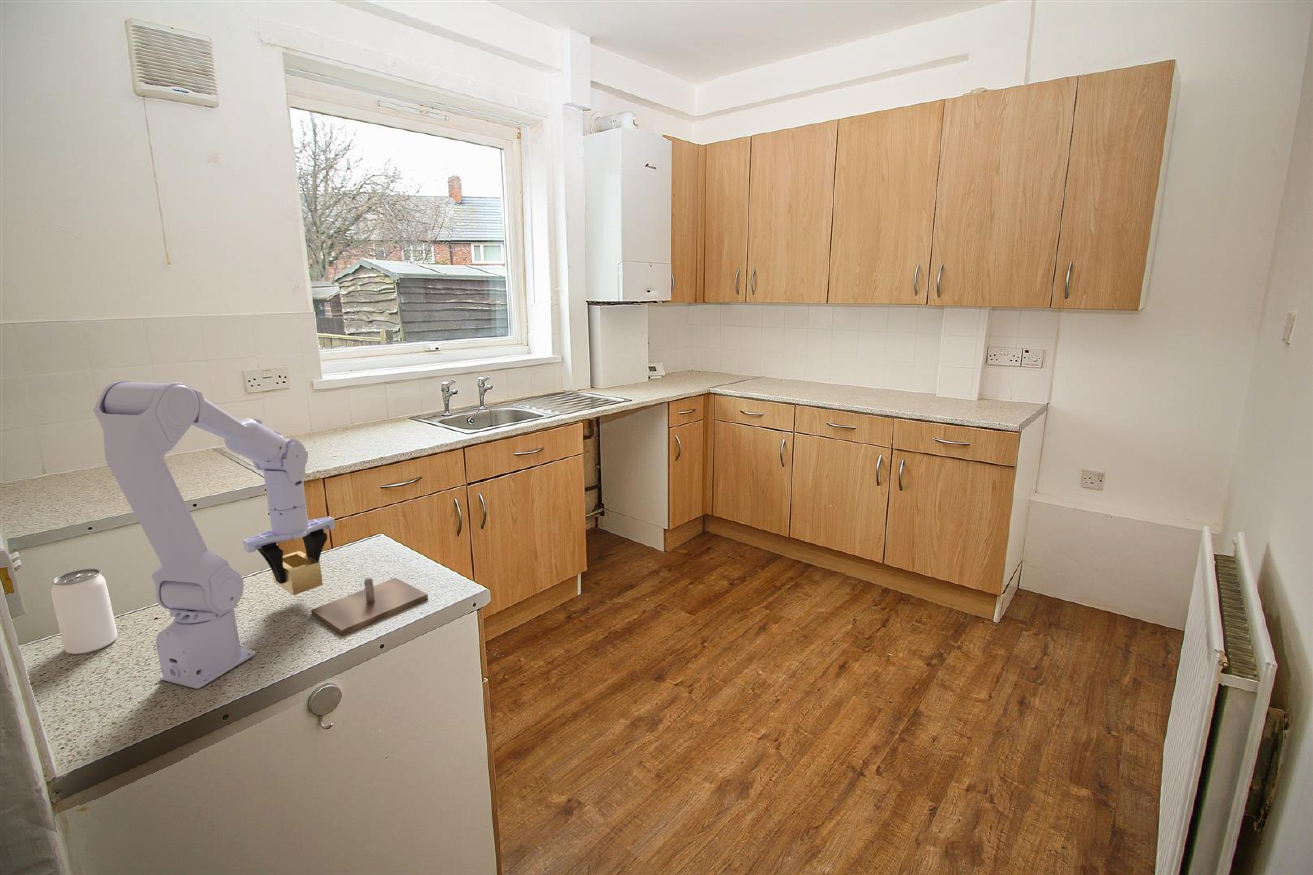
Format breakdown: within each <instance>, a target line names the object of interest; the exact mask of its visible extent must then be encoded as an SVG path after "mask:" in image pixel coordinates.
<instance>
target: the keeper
mask: <svg viewBox="0 0 1313 875" xmlns="http://www.w3.org/2000/svg"><path fill="white" fill-rule="evenodd" d="M363 582H364V589H362V590H360V591H357V592H354V593H351V594H348V595H347V596H343V597H341V598H338V599H335V600H334V601H330V602H328V603H325V604H322V605H321V606H317V607H314V608H312V609H311V610H310V611H311V612H310V613H311V616H312V617H314V618H316V619H317V620H318V621H320V622H321V623H323V624H324V625H326V626H327V627H329V628H331V629H332V630H333V631H335V632H336V633H338V634H339V635H341V636H345V635H347V634H350V633H352V632H354V631H357V630H359V629H361V628H364V627H366V626H368V625H370V624H373V623H375V622H378V621H380V620H382V619H385V618H387V617H390V616H392V615H394V614H396V613H398V612H401V611H403V610H406V609H408V608H410V607H413V606H416V605H418V604H421V603H422V602H424V600H425V601H427V600H429V596H428V595H429V594H428V593H426V592H424V591H423V590H421V589H419V588H416V587H414V586H413V585H410V584H408V583H407V582H405V581H402V580H401V579H399V578H397V577H394V578H391V579H389V580H386V581H383V582H380V583H378V584H375V585H374V581H373V578H372V577H367V578H365V579H364V581H363ZM426 599H427V600H426Z"/></svg>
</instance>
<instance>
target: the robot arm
mask: <svg viewBox="0 0 1313 875" xmlns="http://www.w3.org/2000/svg"><path fill="white" fill-rule="evenodd" d="M92 410H93V413H94V415H95V417H96V419H97V421H98V422H99V424H100V426H101V428H102V431H103V442H104V443H103V444H104V445H103V446H104V456H105V461H106V463H107V466H108V468H109V469H110V471H111V474H113V476H114V478H115V480H116V482H117V484H118V486H119V488H120V490H121V491H122V493H123V495H124V497H125V499H126V500H127V502H128V504H129V505H130V508H131V509H132V512H133V514H134V515H135V518H136V520H137V521H138V522H139V525H140V526H141V528H142V530H143V533H144V534H145V536H146V538H147V539H148V541H149V544H150V545H151V547H152V549H153V551H154V553H155V554H156V556H157V558H158V559H159V562H160V564H159V565H158V566H156V568H155V570H154V571H153V572H152V574H151V578H152V580H153V581H154V586H155V598H156V602H157V603H158V605H159V606H160V607H162V608H163V609H165V610H168V612H169V615H170V617H172V618H174V619H173V621H172V622H171V623H170V624H169V625H168V626H167V627H166V628H164V629H162V630H161V631H160V632H159V633H158V634H157V636H156V640H155V644H156V650H157V655H158V661H159V665H160V670H161V674H160V675H159V677H158V678H159V680H162V681H165V682H166V681H167V682H169V683H173V684H177V685H180V686H186V687H189V688H193V689H196V690H197V689H201V688H202V687H204V686H206V685H207V684H209V683H211V682H213V681H214V680H216V679H217V678H219V677H220V676H222V675H224V674H225V673H227V672H229V671H230V670H232V669H234V668H235V667H237V666H239V665H240V664H242V663H244V662H245V661H247V660H249V659H251V658H252V657H254V656H255V655H256V651H255V650H251V649H246V648H243V647H241V642H240V638H239V631H238V625H237V619H236V612H235V608H237V607H238V604H239V602H240V601H241V599H242V597H243V594H244V580H243V577H242V576H241V574H240V573H239V572H237V571H236V570H234V569H233V568H232V567H231V566H230V564H229V562H228V560H226V558H223V557H222V556H221V555H218V554H217V553H215V552H213V551H212V550H210V549H208V547H207V545H206V543H205V541H204V539H203V536H202V534H201V533H200V530H199V529H198V528H199V527H198V526H197V524H196V523H195V520H194V518H193V516H192V514H191V512H190V510H189V508H188V505H187V504H186V501H185V499H184V497H183V495H182V494H181V492H180V489H179V487H178V485H177V483H176V481H175V479H174V477H173V475H172V474H171V471H170V468H169V467H168V465H167V463H166V461H165V456H166V453H168V452H169V451H171V450H173V449H174V448H175V446H176V445H177V444H178V443H179V441H180V440H181V439H182V437H183V436H185V434H186V433H187V431H188V430H189V429H190V428H191V427H192V426H194V427H195V428H199V429H201V430H203V431H205V432H208V433H210V434H213V435H215V436H217V437H220V438H222V439H223V440H224V444H225V447H226V448H227V449H228V450H229V451H231V452H233V453H235V454H237V455H239V456H242V457H244V458H245V459H248V460H250V461H251V462H252V464H253V467H254V468H255V469H257V471H262V472H263V479H264V486H265V493H266V499H267V506H268V512H269V520H270V528H271V529H269V530H267V531H264V532H261V533H259V534H256V535H253V536H250V537H248V538H244V539H243V540H242V544H243V550H244V551H245V552H247V553H249V554H250V553H254V552H256V550H257V551H258V552H259V554H261V556H262V557H263V559H264V560H265V561H266V563H267V564H268V566H269V567H270V570H271V572H272V571H273V572H272V575H273V574H274V576H275V579H276V581H277V582H278V583H280V584H283V583H285V575H284V570H283V556H284V550H282V549H281V548H280V547H279V545H277V544H280V543H285V542H287V541H288V542H289V541H290V540H295V539H300V538H302V541H303V544H304V549H305V554H306V555H308V556H310V557H312V558H314V559H315V560H317V561H319V562H320V558H321V554H322V551H323V548H324V546H325V544H326V542H327V540H328V534H327V533H326V532H325V531H326V530H330V531H331V530H333V529H336V522H335V521H336V520H335V518H334V517H331V516H325V517H321V518H314V519H309V517H308V509H307V501H306V492H305V486H304V485H305V484H304V479H305V476H306V475H307V474H306V465H307V463H308V460H309V451H308V450H307V449H306V447H305V445H304V444H303V443H301V442H300V441H299V440H298V439H295V438H285V437H284V436H282V433H281V432H279V431H278V430H272V429H270V428H268V427H266V426H265V425H263V420H260V419H259V418H256V417H254V418H253V417H249V418H242V419H237V418H236V417H234V416H233V415H231V414H230V413H228V412H227V411H225V410H224V409H222V408H220V407H219V406H217V405H216V404H215V403H213V402H211V401H209V400H208V399H207V398H205V397H204V395H203V393H202V391H200V390H198V389H194V388H192V387H191V386H189V385H188V384H186V383H182V382H169V383H165V382H161V383H160V382H136V381H135V382H134V381H133V382H131V381H128V380H127V381H126V380H118V381H114V382H112V383H110V384H108V385H107V386H106V387H105V388H104V389H103V390H102V392H101V393H100V395H99V398H98V400H97V402H96V404H95V406H94V407H93V409H92Z"/></svg>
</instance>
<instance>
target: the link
mask: <svg viewBox="0 0 1313 875" xmlns="http://www.w3.org/2000/svg"><path fill="white" fill-rule="evenodd" d="M283 570H284V575H285V583H283V584H280V583H278V582H277V581H276V579H275V576H274V574H273V571H272V570H271V572H272V578H273V583H274V584H276V585H277V586H279V587H280V588H281V589H283V590H285V591H286V592H288V593H289V594H291V595H292V596H295V595H298V594H301V593H302V594H303V593H304V592H306V591H310V590H312V589H317V588H318V587H321V586H323V585H324V584H323V575H322V569H321V562H320V560H319V561H317V560H315V559H314V558H312V557H310V556H308V555H307V554H306V552H303V551H300V550H298V551H294V552H290V553H288V554H283Z"/></svg>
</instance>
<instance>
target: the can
mask: <svg viewBox="0 0 1313 875" xmlns="http://www.w3.org/2000/svg"><path fill="white" fill-rule="evenodd" d="M52 584H53V585H52V587H51V590H50V594H51V599H52V603H53V604H52V605H53V607H54V613H55V616H56V620H57V625H58V629H59V632H60V637H61V641H62V645H63V649H64V651H65V653H68V654H70V655H75V656H76V655H85V654H91V653H94V652H97V651H99V650H102V649H104V648H106V647H108V646H110V645H112V643H114V642H115V641H116V639H118V630H117V626H116V621H115V617H114V612H113V607H112V602H111V598H110V594H109V589H108V586H107V581H106V578H105V577H104V576H103V575H102V574H101V571H100V569H98V568H83V569H77V570H72V571H69V572H67V573H64V574H61V575H59V576H57V577H55V578H54V579H52Z"/></svg>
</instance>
